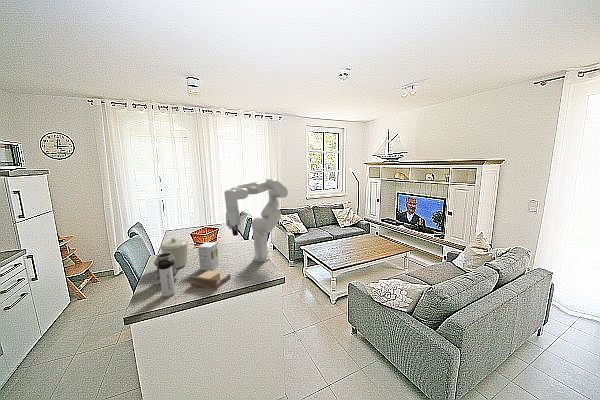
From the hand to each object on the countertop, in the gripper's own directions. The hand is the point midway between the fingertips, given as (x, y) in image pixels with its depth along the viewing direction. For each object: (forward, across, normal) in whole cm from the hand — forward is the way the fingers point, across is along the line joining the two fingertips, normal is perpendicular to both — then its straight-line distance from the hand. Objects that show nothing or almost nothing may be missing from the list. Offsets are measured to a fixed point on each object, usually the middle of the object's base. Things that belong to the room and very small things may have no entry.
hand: (235, 235), depth 160 cm
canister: (+24, +10, -47) cm, 53 cm away
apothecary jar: (+23, +30, -32) cm, 49 cm away
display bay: (+24, +20, -6) cm, 31 cm away
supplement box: (+24, +4, -22) cm, 33 cm away
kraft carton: (+24, +22, -8) cm, 33 cm away
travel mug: (+22, +40, -19) cm, 50 cm away
